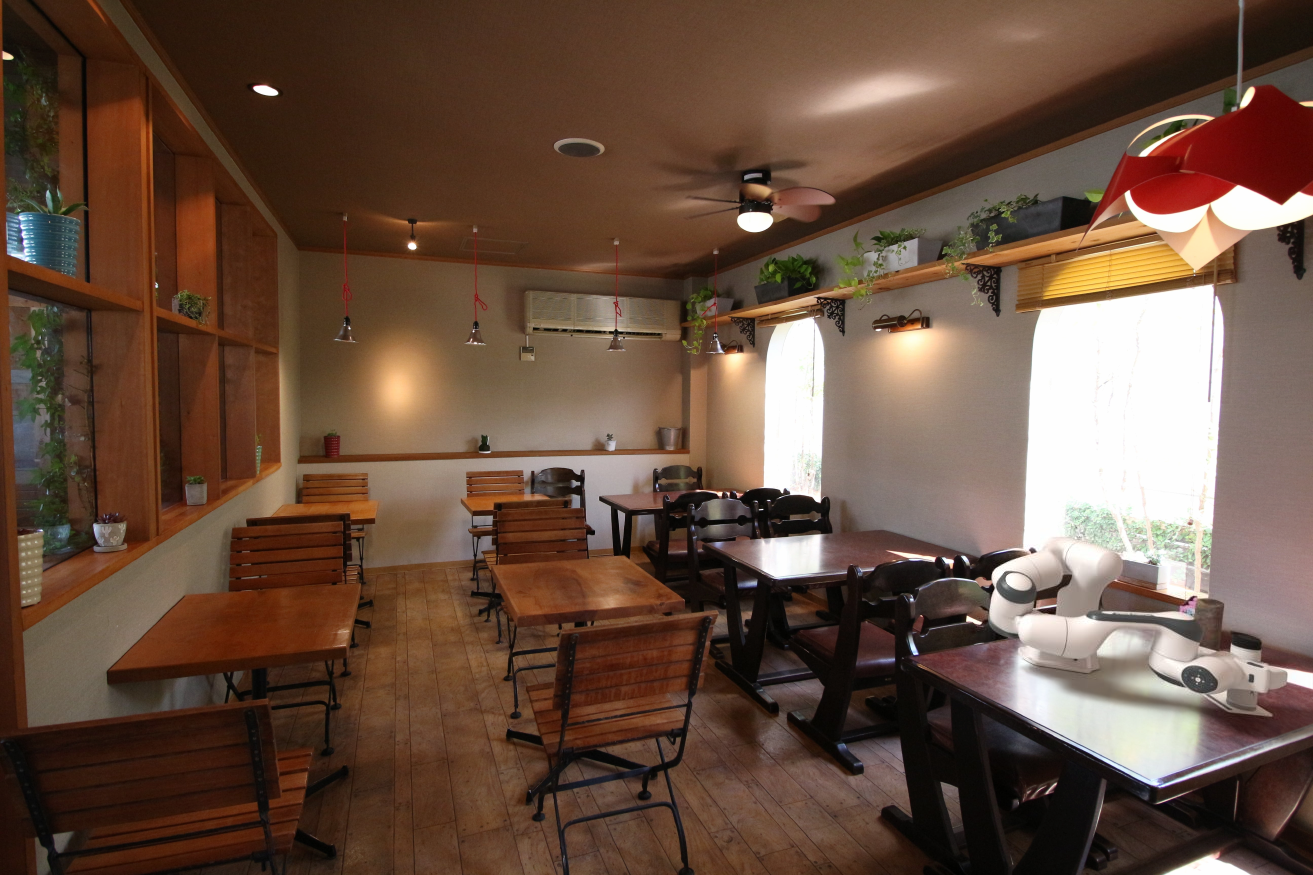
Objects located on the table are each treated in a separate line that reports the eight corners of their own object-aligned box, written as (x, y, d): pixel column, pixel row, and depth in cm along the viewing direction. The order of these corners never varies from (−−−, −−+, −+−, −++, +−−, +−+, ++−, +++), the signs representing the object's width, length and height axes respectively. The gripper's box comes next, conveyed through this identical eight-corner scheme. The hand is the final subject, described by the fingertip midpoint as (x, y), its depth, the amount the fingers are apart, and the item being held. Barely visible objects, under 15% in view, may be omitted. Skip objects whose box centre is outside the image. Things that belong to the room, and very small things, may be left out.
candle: (1224, 663, 216) (1229, 602, 215) (1210, 665, 213) (1215, 604, 212) (1197, 654, 223) (1202, 596, 222) (1183, 656, 221) (1189, 597, 220)
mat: (1227, 711, 179) (1228, 708, 179) (1190, 687, 195) (1191, 684, 195) (1272, 716, 177) (1272, 713, 177) (1231, 691, 193) (1231, 688, 193)
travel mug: (1224, 698, 186) (1230, 628, 186) (1255, 705, 182) (1261, 634, 181) (1224, 705, 182) (1230, 633, 181) (1256, 713, 177) (1263, 640, 177)
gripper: (1177, 666, 184) (1199, 658, 191) (1273, 696, 166) (1294, 686, 173) (1179, 644, 184) (1201, 637, 191) (1275, 671, 166) (1296, 662, 173)
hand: (1246, 660), depth 182 cm, fingers closed on travel mug, 6 cm apart
